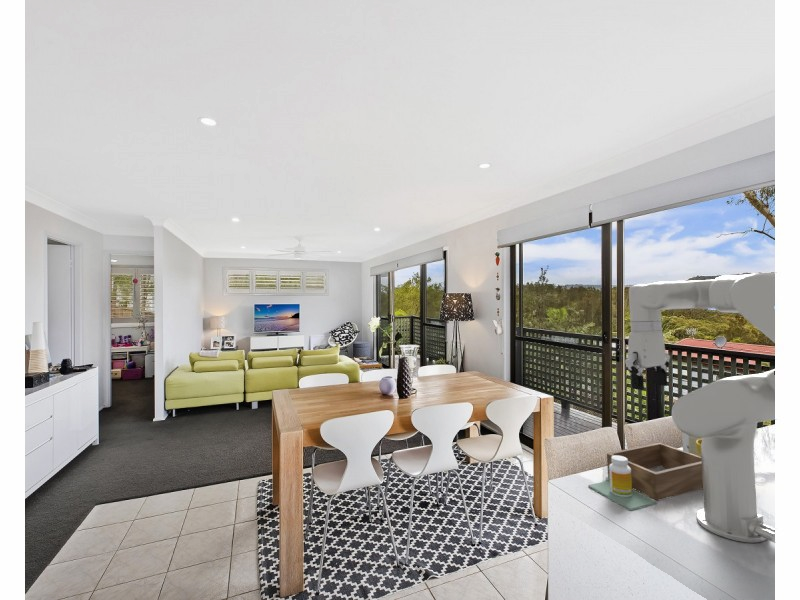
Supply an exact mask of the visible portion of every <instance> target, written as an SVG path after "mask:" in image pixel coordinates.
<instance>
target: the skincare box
mask: <svg viewBox="0 0 800 600" xmlns="http://www.w3.org/2000/svg"><path fill="white" fill-rule="evenodd" d="M698 439H702V438H697V437H692V436H689V435H687V434H685V433H684V432H682V450H683V451H686V452H689V453H691V454H694V455H697V456H700V455H699V454H698V453H697V450H696V441H697V440H698Z"/></svg>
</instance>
